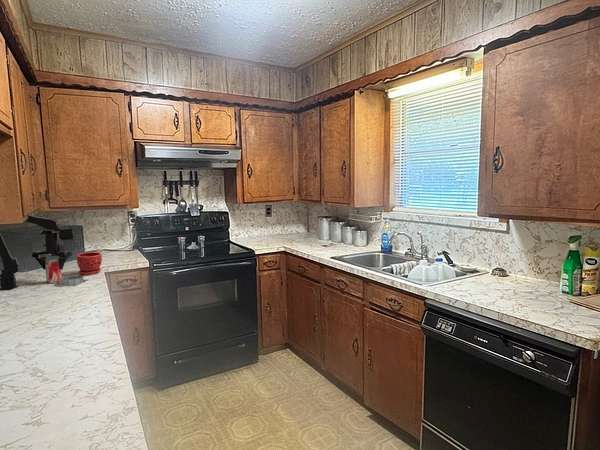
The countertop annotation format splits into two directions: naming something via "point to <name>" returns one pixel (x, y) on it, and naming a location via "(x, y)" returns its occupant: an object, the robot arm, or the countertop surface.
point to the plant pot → (89, 263)
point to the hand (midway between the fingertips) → (53, 269)
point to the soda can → (53, 271)
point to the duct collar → (71, 280)
